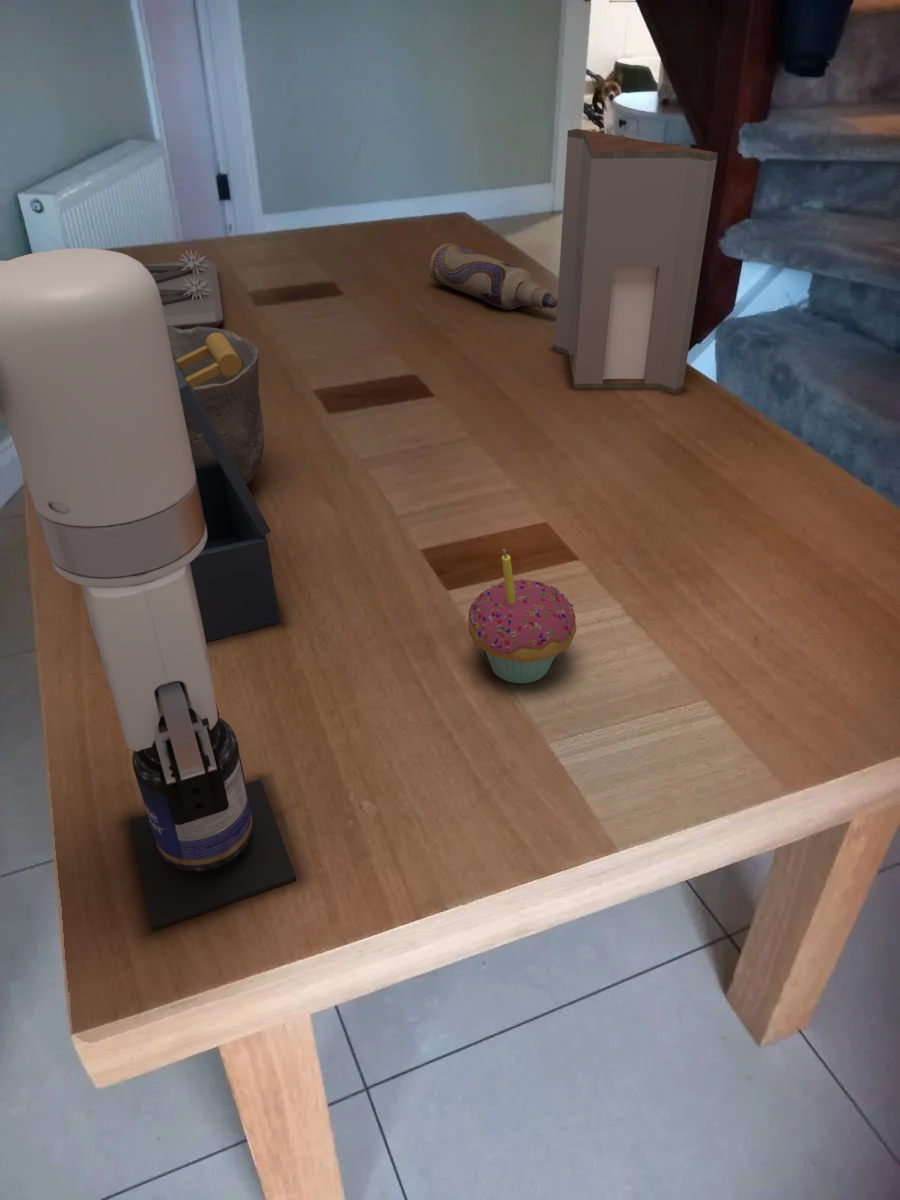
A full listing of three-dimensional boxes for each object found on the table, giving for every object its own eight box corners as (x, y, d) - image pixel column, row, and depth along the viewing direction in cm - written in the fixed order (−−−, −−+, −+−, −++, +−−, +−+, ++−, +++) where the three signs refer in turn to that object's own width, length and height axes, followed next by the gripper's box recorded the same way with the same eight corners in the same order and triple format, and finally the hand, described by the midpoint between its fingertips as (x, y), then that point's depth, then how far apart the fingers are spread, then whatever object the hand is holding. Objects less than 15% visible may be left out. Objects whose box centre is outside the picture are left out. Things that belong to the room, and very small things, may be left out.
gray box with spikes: (225, 330, 137) (217, 282, 133) (74, 344, 133) (61, 295, 129) (217, 271, 161) (210, 229, 156) (89, 282, 157) (78, 238, 152)
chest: (123, 663, 75) (98, 578, 70) (101, 568, 87) (78, 488, 82) (280, 623, 80) (267, 539, 74) (239, 537, 91) (226, 459, 86)
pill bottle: (153, 814, 61) (115, 689, 54) (245, 789, 62) (219, 665, 56) (164, 888, 56) (124, 761, 49) (263, 858, 58) (237, 732, 51)
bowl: (122, 552, 89) (83, 408, 80) (91, 474, 102) (54, 342, 93) (297, 507, 95) (279, 369, 86) (247, 439, 108) (227, 313, 99)
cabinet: (682, 390, 118) (718, 152, 102) (634, 412, 113) (663, 165, 96) (562, 346, 131) (576, 128, 114) (514, 364, 126) (521, 139, 109)
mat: (152, 931, 55) (150, 927, 55) (130, 824, 62) (129, 820, 62) (296, 880, 58) (296, 876, 58) (261, 782, 65) (260, 778, 65)
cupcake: (515, 714, 70) (521, 586, 63) (445, 659, 75) (443, 536, 68) (594, 667, 74) (607, 543, 67) (522, 618, 80) (528, 498, 73)
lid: (176, 390, 65) (243, 356, 65) (143, 322, 76) (200, 294, 77) (262, 537, 74) (319, 506, 75) (221, 456, 85) (271, 431, 86)
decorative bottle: (425, 288, 152) (425, 246, 148) (460, 279, 156) (460, 238, 152) (535, 330, 136) (537, 284, 132) (570, 318, 140) (574, 274, 136)
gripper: (32, 459, 50) (108, 702, 61) (59, 640, 37) (149, 908, 48) (170, 434, 53) (220, 672, 63) (241, 595, 40) (288, 860, 50)
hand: (189, 772), depth 56 cm, fingers closed on pill bottle, 6 cm apart
